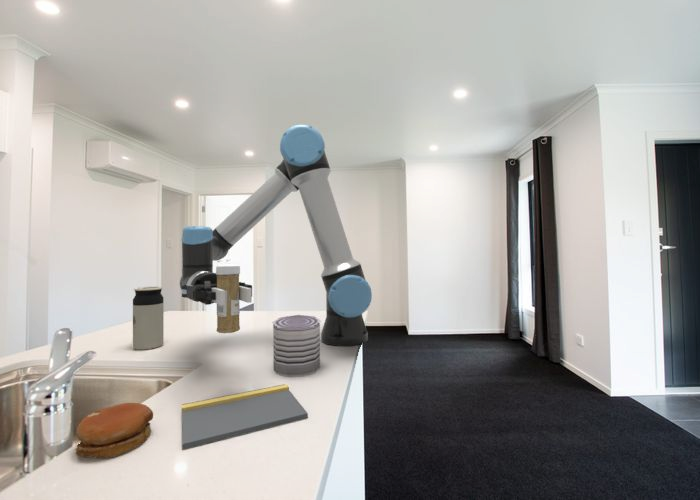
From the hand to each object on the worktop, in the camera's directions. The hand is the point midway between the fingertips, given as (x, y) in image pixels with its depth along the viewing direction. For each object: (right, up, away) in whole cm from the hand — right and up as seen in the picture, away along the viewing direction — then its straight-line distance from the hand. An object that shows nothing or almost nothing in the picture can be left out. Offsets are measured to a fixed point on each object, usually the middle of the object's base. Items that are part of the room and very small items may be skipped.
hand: (236, 296), depth 62 cm
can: (+9, -20, +18) cm, 28 cm away
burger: (-14, -20, -13) cm, 28 cm away
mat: (+3, -20, -4) cm, 21 cm away
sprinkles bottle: (-3, -8, +4) cm, 9 cm away
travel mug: (-40, -21, +38) cm, 59 cm away
